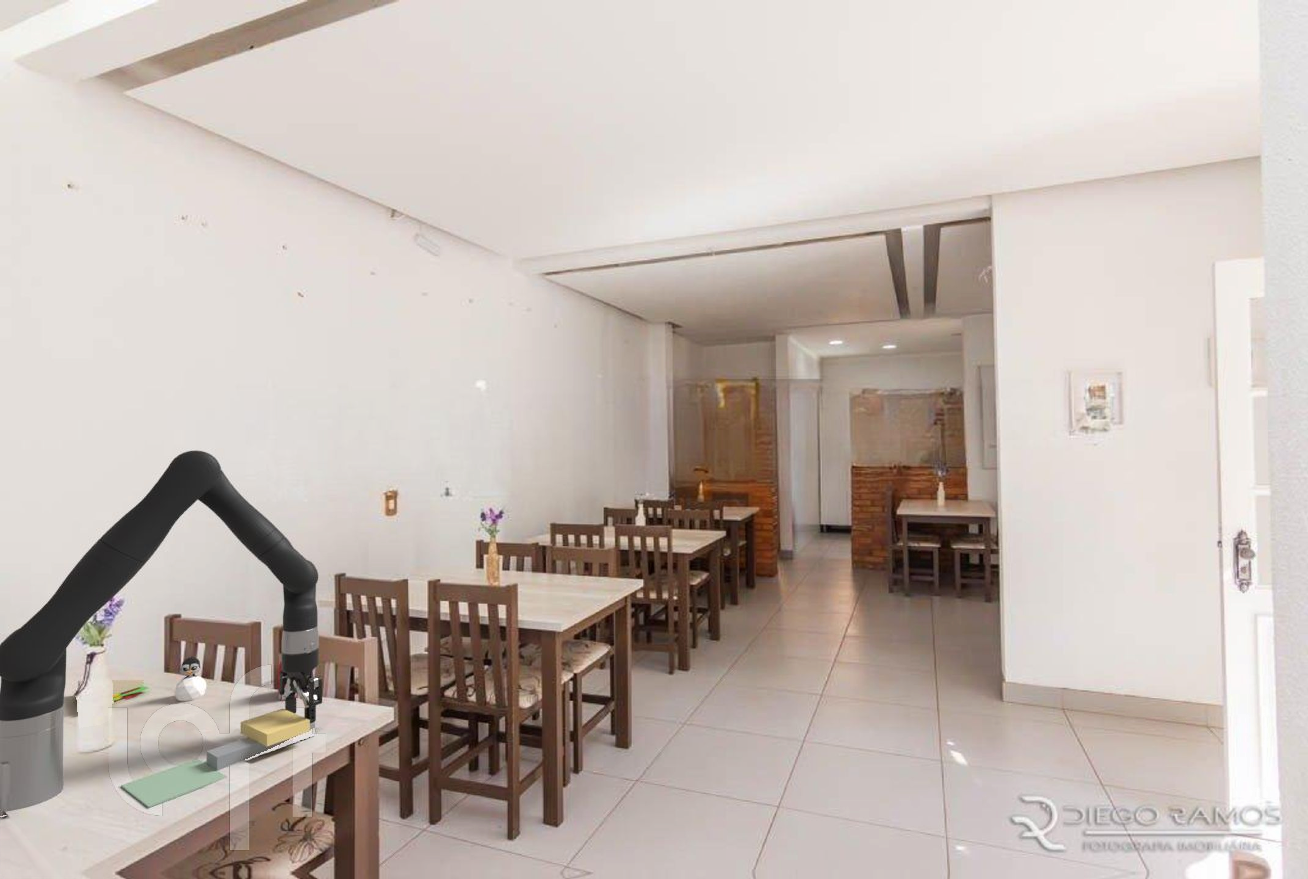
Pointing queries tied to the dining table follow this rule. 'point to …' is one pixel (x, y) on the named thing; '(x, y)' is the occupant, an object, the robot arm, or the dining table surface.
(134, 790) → the mat
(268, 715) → the yellow kitchen sponge
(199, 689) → the penguin
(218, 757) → the rail
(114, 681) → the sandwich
